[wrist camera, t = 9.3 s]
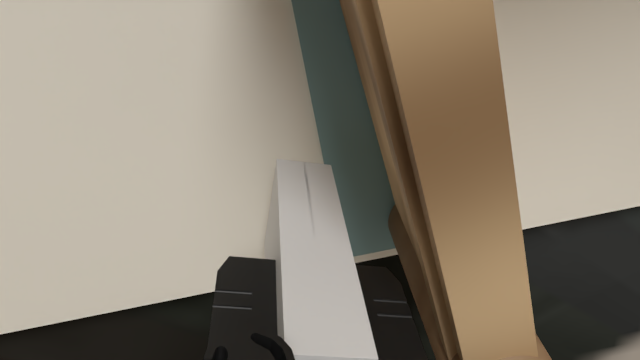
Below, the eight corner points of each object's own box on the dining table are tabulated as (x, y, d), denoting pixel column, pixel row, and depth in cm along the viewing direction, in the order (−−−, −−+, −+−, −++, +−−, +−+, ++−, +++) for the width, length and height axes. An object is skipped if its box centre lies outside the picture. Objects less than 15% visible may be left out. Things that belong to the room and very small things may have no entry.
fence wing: (219, -351, 9) (115, -883, 3) (335, -396, 9) (485, -1061, 3) (396, 255, 16) (476, 477, 10) (462, 236, 16) (585, 448, 10)
